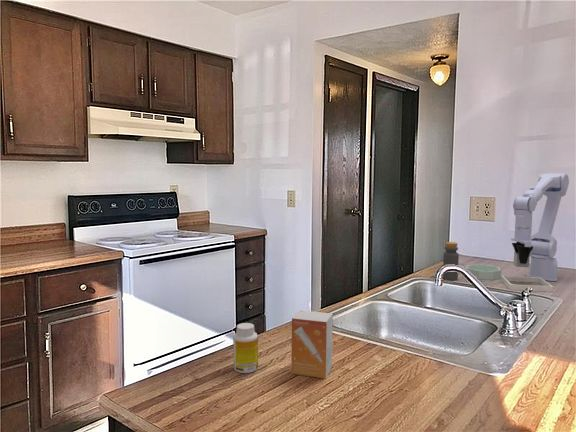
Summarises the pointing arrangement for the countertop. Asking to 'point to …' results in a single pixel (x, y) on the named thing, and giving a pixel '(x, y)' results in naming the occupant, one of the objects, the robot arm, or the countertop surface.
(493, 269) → the bowl
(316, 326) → the small box
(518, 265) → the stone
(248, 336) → the supplement bottle
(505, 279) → the tray
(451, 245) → the bottle
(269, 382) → the countertop surface
